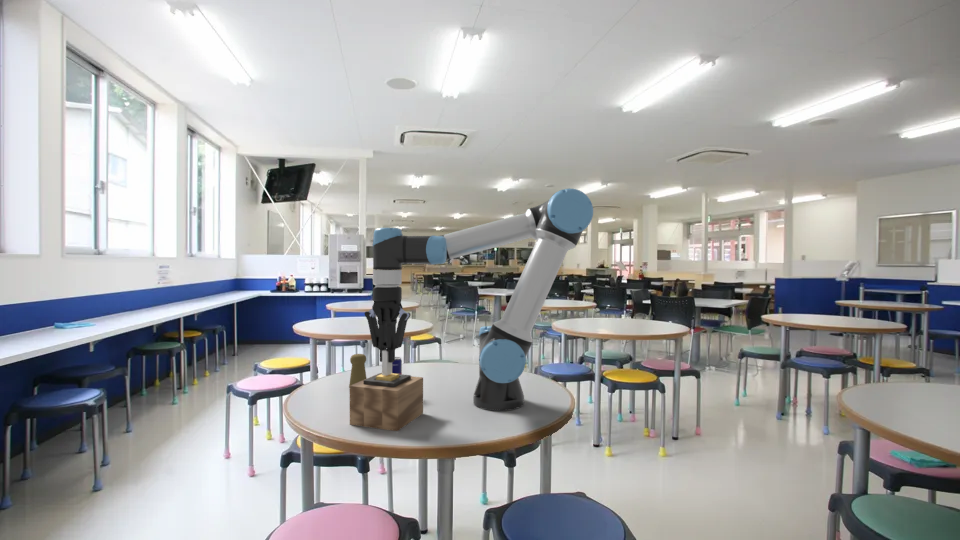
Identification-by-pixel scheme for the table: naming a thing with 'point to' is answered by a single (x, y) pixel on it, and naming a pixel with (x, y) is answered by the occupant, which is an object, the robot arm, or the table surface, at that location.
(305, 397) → the table surface
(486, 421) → the table surface
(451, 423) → the table surface
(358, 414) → the socket block
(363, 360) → the cork
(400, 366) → the energy drink
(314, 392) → the table surface
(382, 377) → the peg
